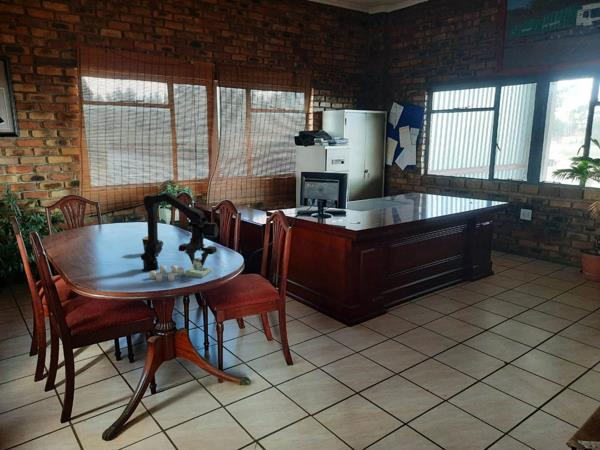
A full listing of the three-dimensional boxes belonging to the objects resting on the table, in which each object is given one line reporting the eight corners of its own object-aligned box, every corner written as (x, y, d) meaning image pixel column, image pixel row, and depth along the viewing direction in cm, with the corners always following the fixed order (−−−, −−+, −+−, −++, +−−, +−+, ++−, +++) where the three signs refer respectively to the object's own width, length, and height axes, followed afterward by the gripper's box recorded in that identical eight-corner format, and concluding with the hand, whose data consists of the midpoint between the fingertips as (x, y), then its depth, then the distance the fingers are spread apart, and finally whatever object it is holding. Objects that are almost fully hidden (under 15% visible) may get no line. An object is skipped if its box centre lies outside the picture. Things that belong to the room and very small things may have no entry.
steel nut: (191, 267, 225) (190, 260, 224) (195, 265, 230) (195, 257, 229) (200, 268, 224) (199, 261, 223) (204, 266, 229) (204, 258, 228)
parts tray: (184, 275, 224) (184, 271, 224) (194, 270, 234) (194, 266, 233) (202, 277, 222) (202, 273, 221) (211, 272, 231) (211, 268, 231)
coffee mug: (139, 254, 259) (139, 238, 257) (151, 251, 266) (151, 235, 264) (152, 258, 253) (152, 241, 251) (164, 254, 260) (164, 238, 258)
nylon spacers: (145, 280, 216) (145, 273, 215) (164, 270, 232) (164, 263, 231) (169, 283, 213) (169, 276, 212) (187, 273, 229) (187, 266, 228)
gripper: (172, 237, 218) (173, 267, 221) (207, 240, 214) (207, 271, 217) (183, 232, 229) (184, 261, 232) (217, 235, 224) (217, 265, 228)
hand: (197, 264), depth 227 cm, fingers closed on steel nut, 5 cm apart
